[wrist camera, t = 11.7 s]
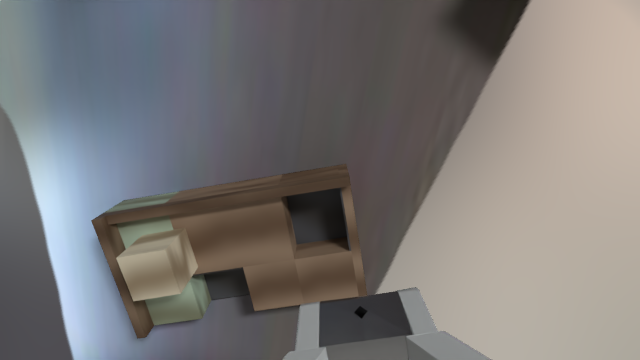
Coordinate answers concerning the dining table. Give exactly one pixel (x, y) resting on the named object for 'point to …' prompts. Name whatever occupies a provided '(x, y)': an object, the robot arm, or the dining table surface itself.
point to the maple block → (158, 264)
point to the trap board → (246, 243)
